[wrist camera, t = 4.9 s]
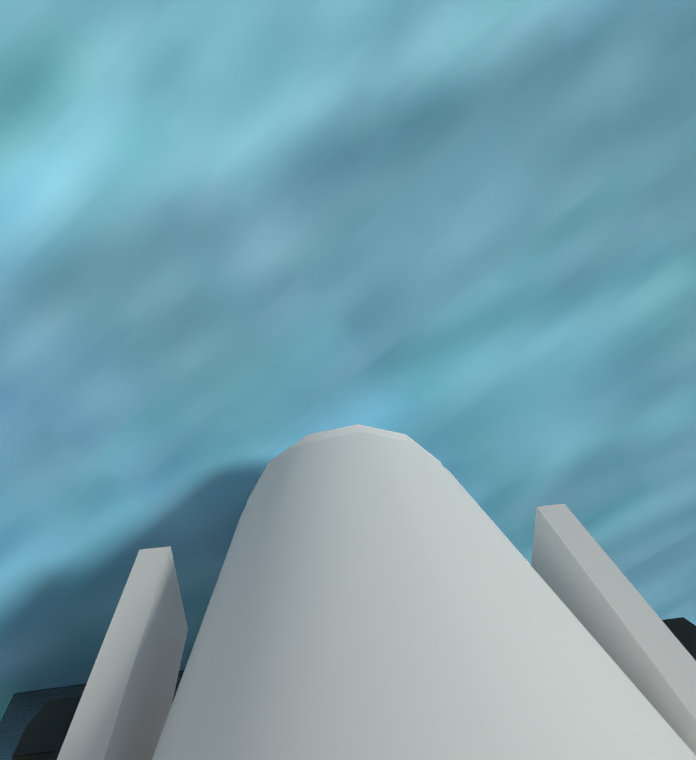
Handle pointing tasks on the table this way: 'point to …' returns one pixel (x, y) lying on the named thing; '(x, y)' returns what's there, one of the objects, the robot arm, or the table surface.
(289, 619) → the foam cup
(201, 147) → the table surface
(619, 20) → the table surface
